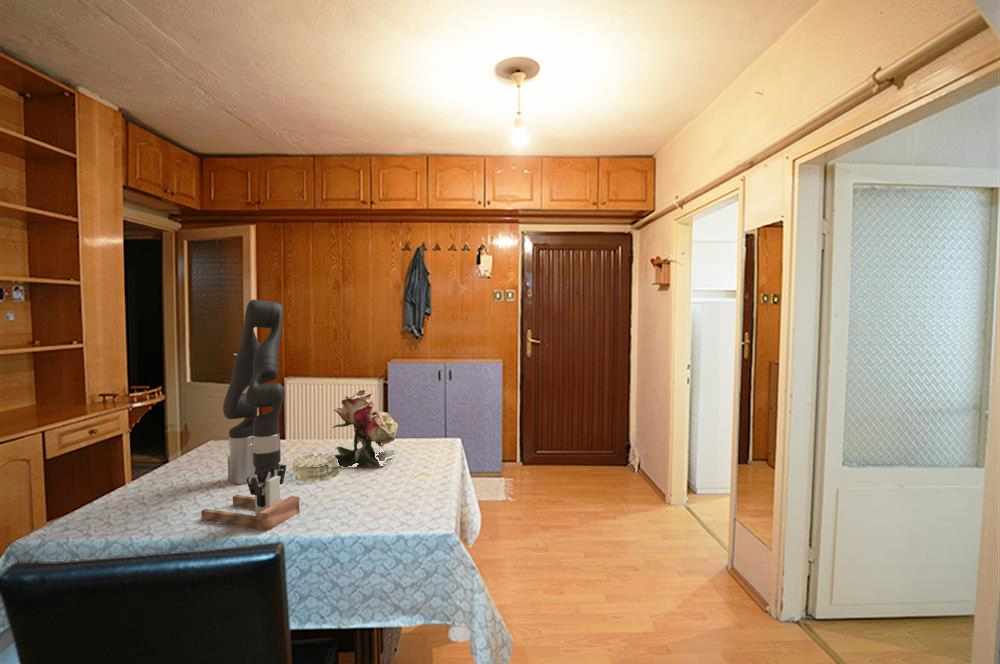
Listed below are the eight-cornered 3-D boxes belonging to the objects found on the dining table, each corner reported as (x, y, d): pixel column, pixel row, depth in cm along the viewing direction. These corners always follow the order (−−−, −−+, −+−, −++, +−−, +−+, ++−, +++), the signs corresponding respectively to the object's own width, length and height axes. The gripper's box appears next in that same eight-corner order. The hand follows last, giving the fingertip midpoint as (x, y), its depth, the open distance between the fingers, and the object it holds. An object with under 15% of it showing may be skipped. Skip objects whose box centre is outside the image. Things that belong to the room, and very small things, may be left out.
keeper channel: (201, 520, 142) (201, 504, 141) (236, 503, 154) (236, 488, 154) (268, 530, 135) (268, 513, 134) (299, 512, 147) (299, 496, 147)
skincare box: (281, 514, 143) (280, 476, 143) (270, 520, 139) (269, 481, 139) (265, 511, 145) (265, 474, 145) (254, 517, 141) (253, 478, 141)
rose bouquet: (394, 468, 189) (393, 395, 188) (322, 468, 189) (321, 396, 188) (406, 450, 215) (405, 385, 214) (343, 450, 215) (342, 386, 213)
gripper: (274, 441, 149) (275, 493, 150) (237, 454, 136) (239, 511, 136) (293, 443, 147) (294, 496, 148) (258, 456, 134) (259, 514, 134)
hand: (267, 503), depth 142 cm, fingers closed on skincare box, 4 cm apart
